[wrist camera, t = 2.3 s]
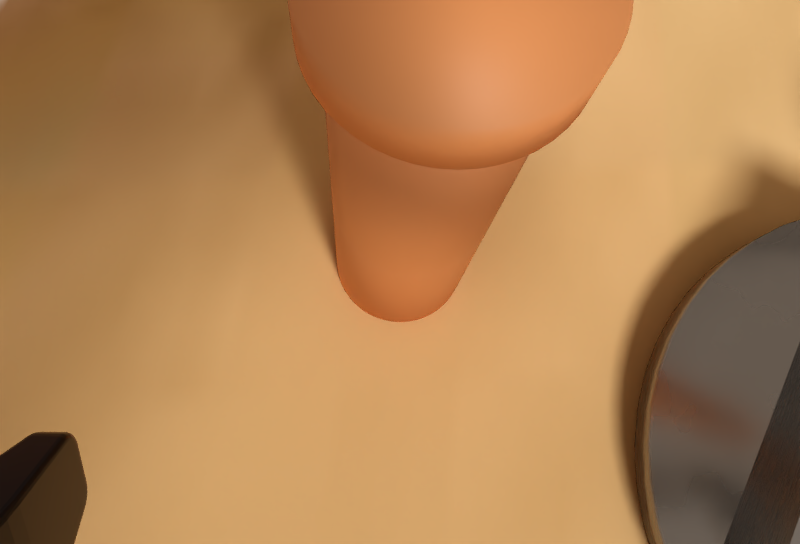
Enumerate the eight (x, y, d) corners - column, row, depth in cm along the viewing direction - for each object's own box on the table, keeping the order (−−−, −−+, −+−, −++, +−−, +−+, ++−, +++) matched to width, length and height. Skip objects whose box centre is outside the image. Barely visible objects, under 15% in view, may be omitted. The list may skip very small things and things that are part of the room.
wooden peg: (386, 365, 21) (438, 198, 8) (294, 247, 21) (213, -64, 9) (503, 274, 22) (704, 5, 9) (410, 165, 23) (480, -212, 10)
